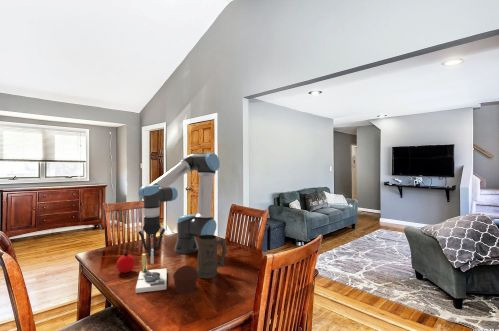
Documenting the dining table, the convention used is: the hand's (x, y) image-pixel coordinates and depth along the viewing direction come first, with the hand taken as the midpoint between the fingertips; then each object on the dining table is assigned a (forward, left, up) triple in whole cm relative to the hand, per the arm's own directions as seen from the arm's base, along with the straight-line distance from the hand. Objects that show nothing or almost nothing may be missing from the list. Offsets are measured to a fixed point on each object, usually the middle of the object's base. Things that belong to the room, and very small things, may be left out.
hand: (152, 262), depth 135 cm
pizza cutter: (+1, +5, -5) cm, 7 cm away
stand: (-1, +5, -7) cm, 9 cm away
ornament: (+13, -11, -8) cm, 19 cm away
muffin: (-16, +17, -8) cm, 24 cm away
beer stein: (-30, +3, -8) cm, 31 cm away
